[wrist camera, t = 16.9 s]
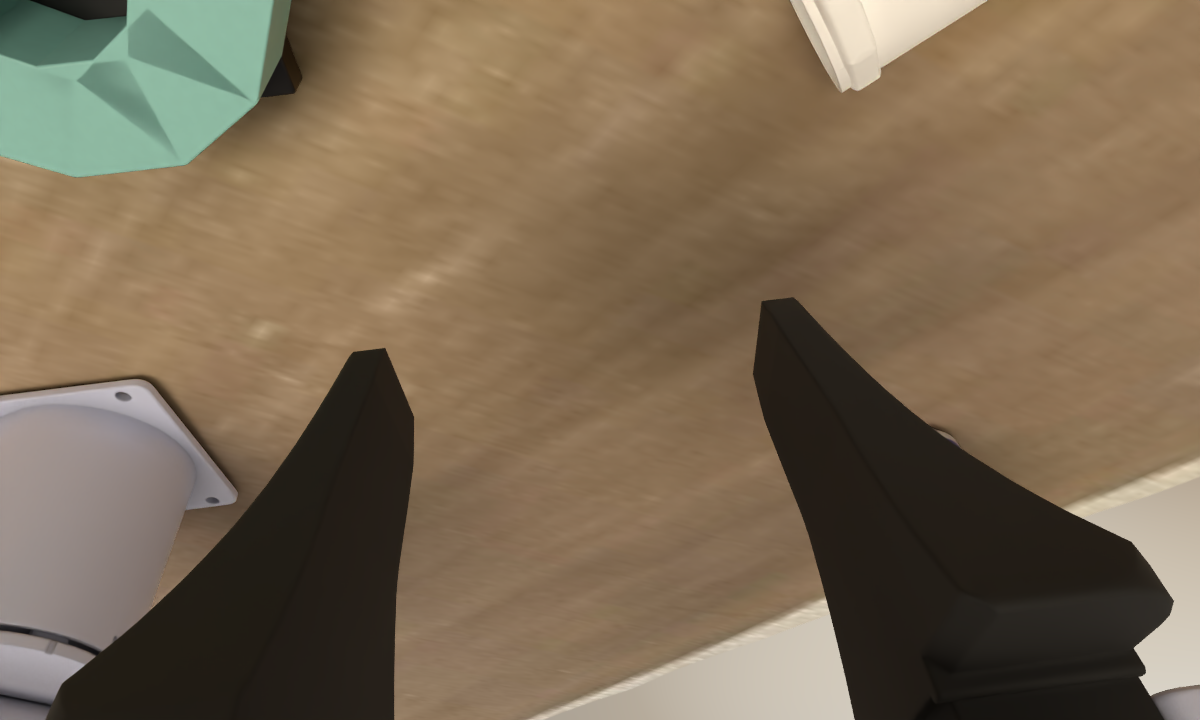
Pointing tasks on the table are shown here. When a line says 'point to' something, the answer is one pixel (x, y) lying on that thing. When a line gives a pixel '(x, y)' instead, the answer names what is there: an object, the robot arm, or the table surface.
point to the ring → (131, 81)
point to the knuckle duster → (872, 32)
